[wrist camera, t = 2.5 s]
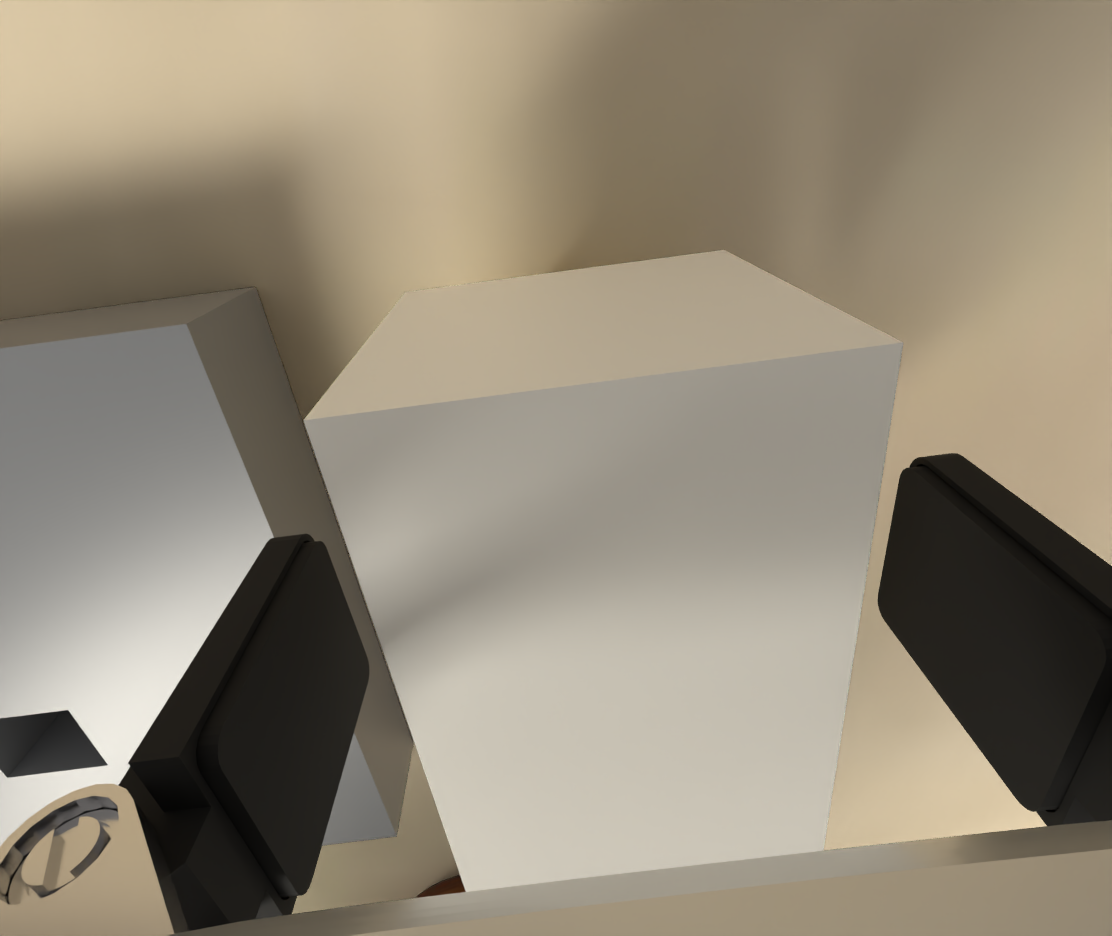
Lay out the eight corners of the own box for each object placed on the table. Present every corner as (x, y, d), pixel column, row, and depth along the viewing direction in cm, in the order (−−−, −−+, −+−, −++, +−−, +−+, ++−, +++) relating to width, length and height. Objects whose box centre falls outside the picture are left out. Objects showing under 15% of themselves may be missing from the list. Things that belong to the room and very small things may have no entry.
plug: (690, 548, 18) (822, 860, 10) (492, 573, 18) (469, 903, 10) (685, 230, 14) (903, 342, 6) (426, 264, 14) (302, 420, 6)
